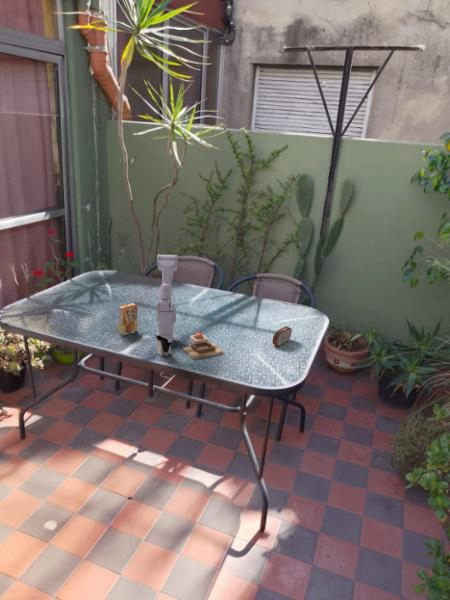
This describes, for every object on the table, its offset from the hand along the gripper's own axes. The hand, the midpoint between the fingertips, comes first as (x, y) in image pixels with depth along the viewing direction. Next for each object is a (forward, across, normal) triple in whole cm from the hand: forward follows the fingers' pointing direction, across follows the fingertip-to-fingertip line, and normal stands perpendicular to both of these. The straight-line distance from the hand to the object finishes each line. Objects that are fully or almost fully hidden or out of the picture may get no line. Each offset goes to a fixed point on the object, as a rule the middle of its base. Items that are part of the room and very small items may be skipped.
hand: (164, 350), depth 215 cm
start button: (+1, -4, +21) cm, 21 cm away
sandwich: (+2, +15, +60) cm, 62 cm away
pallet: (+2, +6, +18) cm, 19 cm away
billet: (+2, 0, 0) cm, 2 cm away
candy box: (+2, -30, -7) cm, 31 cm away
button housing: (+2, -4, +21) cm, 21 cm away
